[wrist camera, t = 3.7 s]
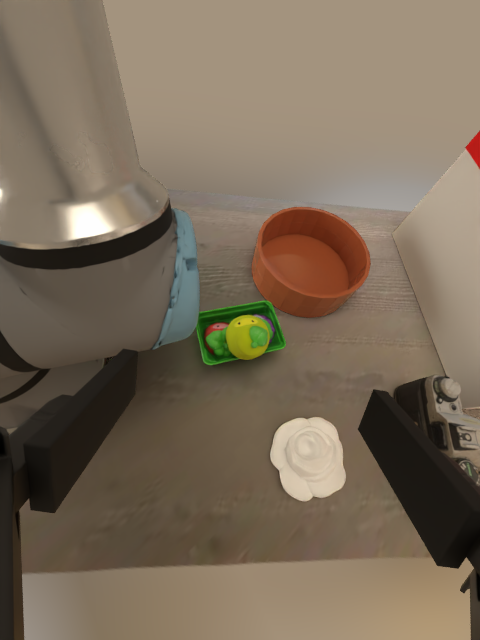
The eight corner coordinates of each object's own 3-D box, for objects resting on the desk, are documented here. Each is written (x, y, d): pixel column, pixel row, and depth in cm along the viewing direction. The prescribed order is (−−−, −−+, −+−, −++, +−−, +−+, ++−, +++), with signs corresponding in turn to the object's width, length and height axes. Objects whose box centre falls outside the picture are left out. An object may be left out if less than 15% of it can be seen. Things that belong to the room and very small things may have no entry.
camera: (479, 519, 33) (581, 547, 24) (401, 508, 32) (475, 533, 24) (450, 393, 40) (520, 378, 31) (386, 383, 39) (438, 365, 31)
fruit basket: (263, 314, 42) (281, 273, 32) (281, 366, 39) (307, 338, 29) (194, 328, 40) (189, 288, 30) (206, 384, 36) (206, 361, 26)
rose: (344, 528, 27) (262, 478, 28) (327, 518, 31) (255, 474, 32) (369, 436, 32) (297, 396, 33) (351, 437, 36) (287, 402, 37)
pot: (235, 291, 44) (239, 268, 38) (271, 221, 52) (279, 193, 46) (337, 334, 42) (358, 317, 36) (358, 255, 50) (378, 231, 44)
